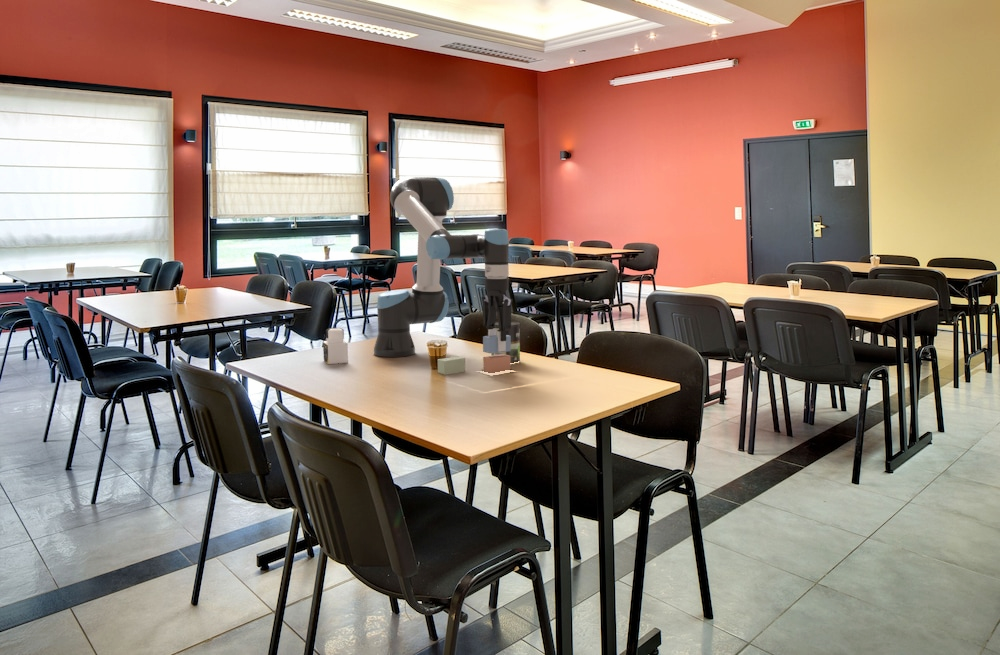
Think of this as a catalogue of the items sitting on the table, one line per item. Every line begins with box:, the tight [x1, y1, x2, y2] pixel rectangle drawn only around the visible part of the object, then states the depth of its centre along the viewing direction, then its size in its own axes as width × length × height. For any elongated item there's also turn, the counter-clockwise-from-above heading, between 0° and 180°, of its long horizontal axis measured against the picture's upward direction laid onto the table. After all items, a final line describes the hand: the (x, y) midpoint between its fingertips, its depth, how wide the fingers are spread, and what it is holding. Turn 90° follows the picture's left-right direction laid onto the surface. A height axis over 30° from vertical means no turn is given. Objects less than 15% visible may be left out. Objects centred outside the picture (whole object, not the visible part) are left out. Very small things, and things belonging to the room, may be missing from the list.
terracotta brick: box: [482, 354, 511, 373], centre depth 238 cm, size 8×4×5 cm, turn 127°
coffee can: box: [490, 321, 521, 363], centre depth 253 cm, size 10×10×14 cm
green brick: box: [437, 356, 466, 375], centre depth 238 cm, size 8×4×5 cm, turn 127°
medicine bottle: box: [322, 327, 349, 365], centre depth 257 cm, size 7×7×12 cm
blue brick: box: [482, 335, 511, 354], centre depth 237 cm, size 8×4×5 cm, turn 122°
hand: (496, 349), depth 237 cm, fingers closed on blue brick, 4 cm apart
